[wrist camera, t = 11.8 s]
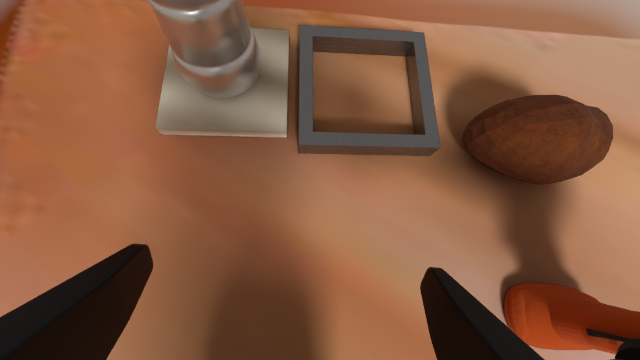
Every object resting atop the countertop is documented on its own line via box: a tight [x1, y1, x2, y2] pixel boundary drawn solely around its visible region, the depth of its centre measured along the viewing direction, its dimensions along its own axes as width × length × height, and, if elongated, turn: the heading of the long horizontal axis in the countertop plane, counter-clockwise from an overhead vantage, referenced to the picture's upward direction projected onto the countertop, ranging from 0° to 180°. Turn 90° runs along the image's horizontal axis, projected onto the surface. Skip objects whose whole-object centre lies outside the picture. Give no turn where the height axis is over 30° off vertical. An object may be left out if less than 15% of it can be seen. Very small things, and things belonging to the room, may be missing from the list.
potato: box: [463, 95, 613, 184], centre depth 22 cm, size 8×12×8 cm, turn 92°
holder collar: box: [299, 25, 440, 156], centre depth 25 cm, size 12×12×2 cm
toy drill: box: [504, 283, 640, 360], centre depth 14 cm, size 5×19×15 cm, turn 86°
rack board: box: [155, 28, 289, 138], centre depth 25 cm, size 11×11×1 cm
